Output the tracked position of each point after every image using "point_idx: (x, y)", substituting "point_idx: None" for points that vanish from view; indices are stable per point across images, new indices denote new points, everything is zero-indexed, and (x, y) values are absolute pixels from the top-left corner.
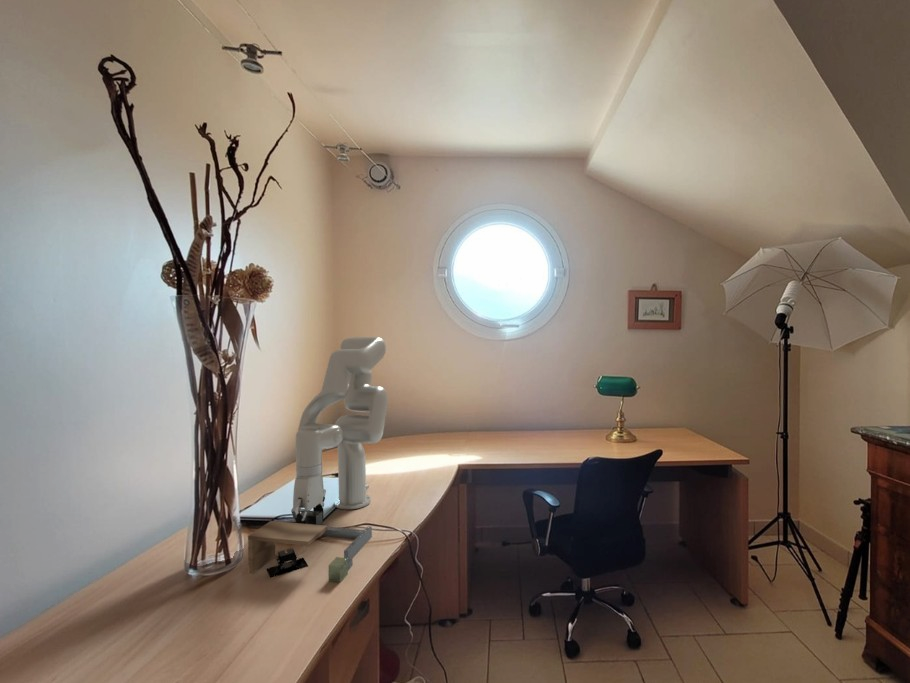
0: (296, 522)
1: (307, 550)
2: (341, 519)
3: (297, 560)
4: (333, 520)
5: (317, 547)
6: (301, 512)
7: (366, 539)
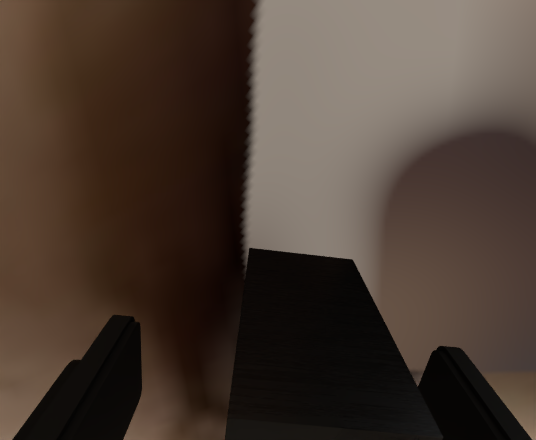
0: (42, 426)
1: (29, 400)
2: None
3: None
4: (504, 397)
5: None
6: (329, 428)
7: None
